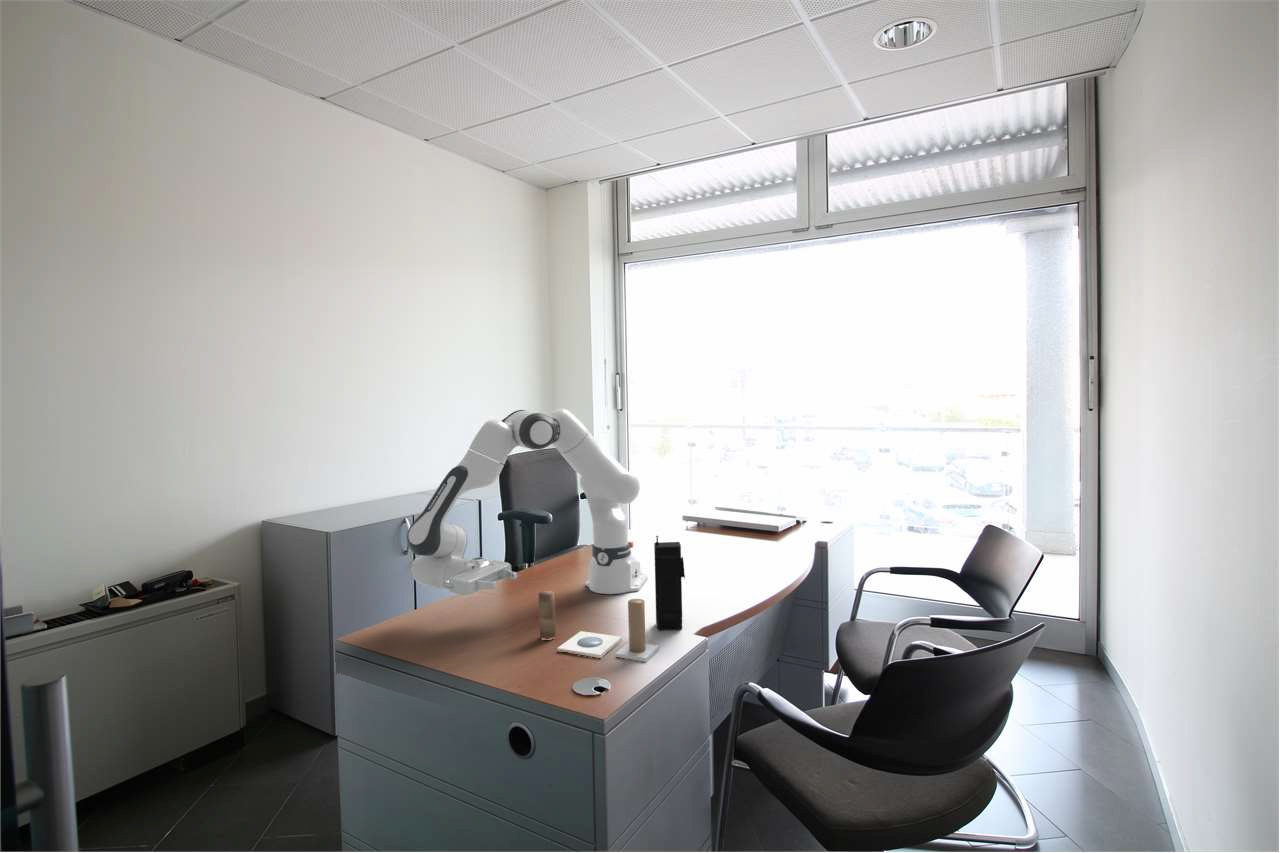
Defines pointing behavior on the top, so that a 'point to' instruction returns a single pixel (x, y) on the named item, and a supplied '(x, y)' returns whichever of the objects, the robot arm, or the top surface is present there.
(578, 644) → the plate
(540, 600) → the walnut pin
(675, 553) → the portable radio
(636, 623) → the tan wooden dowel
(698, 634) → the top surface
